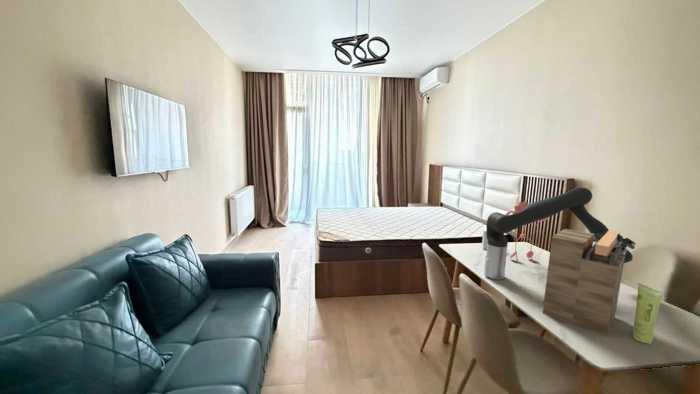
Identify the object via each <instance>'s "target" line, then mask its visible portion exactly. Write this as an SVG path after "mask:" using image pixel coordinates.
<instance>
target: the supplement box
mask: <svg viewBox="0 0 700 394" xmlns="http://www.w3.org/2000/svg"><path fill="white" fill-rule="evenodd" d="M486 229H487V227H483V228H482V241H481V246H482V250H487V242H488V240H487V237H486Z"/></svg>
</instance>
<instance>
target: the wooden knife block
mask: <svg viewBox="0 0 700 394" xmlns="http://www.w3.org/2000/svg"><path fill="white" fill-rule="evenodd" d="M593 239H594V234H593V233H590V232H585V231H580V230H575V229H568V228H564V229H562V230H561V231H559V232H558V233H556V234H555V235H553V236H552V237H551V241H550V242H551V243H550V251H549V256H548V257H549V259H548V266H547V275H546V283H545V291H544V297H543V298H544V299H543V307H542V314H544V313H545V314H544V315H548V316H551V317H553V318H556V319H558V320H561V321H563V322H567V323H570V324H572V325H575V326H577V327H580V328H583V329H586V330H587V331H592V332H593V333H596V334H599V335H603V336H608V334H609V332H610V329H611V327H612V325H613V322H614V320H615V317H616V311H617V305H618V300H619V293H620V288H621V283H622V282H621V281H622V276H623V272H624V271H623V270H624V265H625V263H624V259H625V255H624V254H621V250H622V246H618V247H617V249H616V250H615V251H614V252H610V253H609V255H608V256H603V255H598V254H595V247H596V244H597V243H598V242H593Z"/></svg>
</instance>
